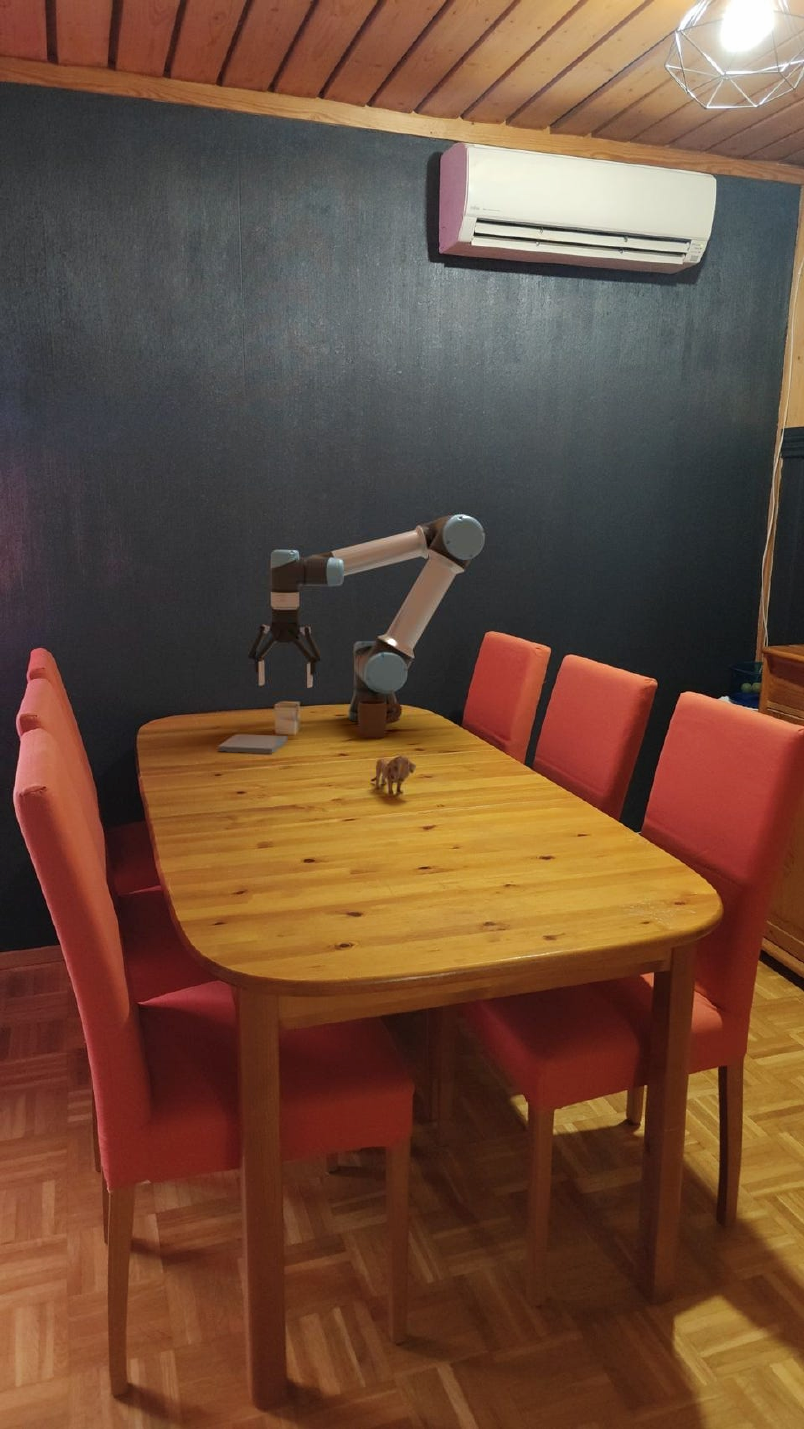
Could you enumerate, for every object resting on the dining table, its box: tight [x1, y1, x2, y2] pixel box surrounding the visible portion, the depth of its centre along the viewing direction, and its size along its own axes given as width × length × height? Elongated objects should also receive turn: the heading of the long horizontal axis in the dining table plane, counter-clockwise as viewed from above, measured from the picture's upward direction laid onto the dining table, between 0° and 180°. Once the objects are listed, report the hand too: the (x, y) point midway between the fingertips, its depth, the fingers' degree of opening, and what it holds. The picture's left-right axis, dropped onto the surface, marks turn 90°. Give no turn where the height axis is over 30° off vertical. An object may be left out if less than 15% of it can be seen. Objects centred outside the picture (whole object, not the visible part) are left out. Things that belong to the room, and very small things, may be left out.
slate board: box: [217, 733, 288, 755], centre depth 249 cm, size 14×14×1 cm
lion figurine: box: [370, 754, 417, 797], centre depth 209 cm, size 15×5×9 cm, turn 35°
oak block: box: [273, 700, 301, 736], centre depth 265 cm, size 6×6×8 cm
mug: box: [357, 700, 403, 740], centre depth 261 cm, size 12×8×9 cm, turn 102°
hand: (285, 685), depth 263 cm, fingers open, 13 cm apart
